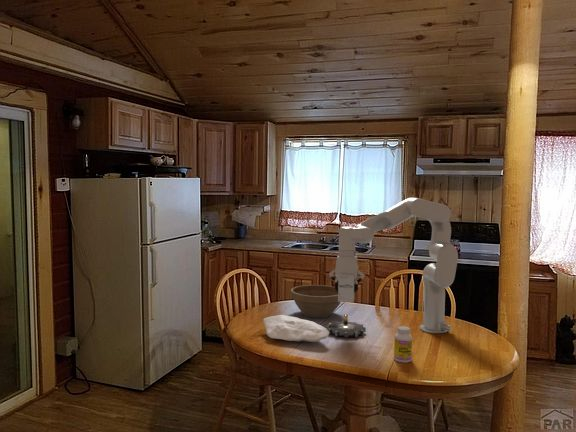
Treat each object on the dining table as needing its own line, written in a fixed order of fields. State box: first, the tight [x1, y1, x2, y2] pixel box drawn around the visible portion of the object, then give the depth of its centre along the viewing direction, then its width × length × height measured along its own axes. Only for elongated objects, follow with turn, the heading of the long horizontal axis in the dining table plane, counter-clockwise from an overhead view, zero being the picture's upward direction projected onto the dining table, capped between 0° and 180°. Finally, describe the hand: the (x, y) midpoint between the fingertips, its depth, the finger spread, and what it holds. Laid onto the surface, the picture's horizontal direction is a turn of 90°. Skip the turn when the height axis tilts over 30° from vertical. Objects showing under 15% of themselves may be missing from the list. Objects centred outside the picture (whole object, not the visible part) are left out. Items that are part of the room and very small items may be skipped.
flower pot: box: [290, 284, 341, 319], centre depth 248 cm, size 28×28×13 cm
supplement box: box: [338, 274, 355, 304], centre depth 216 cm, size 7×7×13 cm
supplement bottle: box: [393, 325, 413, 364], centre depth 185 cm, size 7×7×13 cm
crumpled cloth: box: [262, 314, 330, 343], centre depth 211 cm, size 24×35×9 cm
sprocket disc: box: [325, 313, 367, 338], centre depth 218 cm, size 18×18×6 cm
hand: (346, 291), depth 217 cm, fingers closed on supplement box, 7 cm apart
